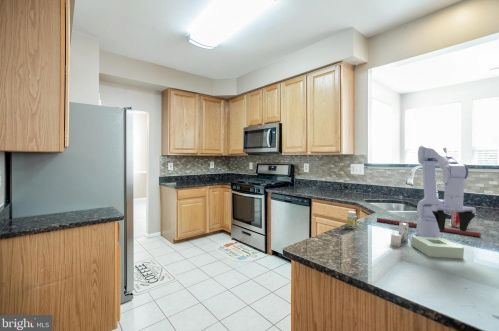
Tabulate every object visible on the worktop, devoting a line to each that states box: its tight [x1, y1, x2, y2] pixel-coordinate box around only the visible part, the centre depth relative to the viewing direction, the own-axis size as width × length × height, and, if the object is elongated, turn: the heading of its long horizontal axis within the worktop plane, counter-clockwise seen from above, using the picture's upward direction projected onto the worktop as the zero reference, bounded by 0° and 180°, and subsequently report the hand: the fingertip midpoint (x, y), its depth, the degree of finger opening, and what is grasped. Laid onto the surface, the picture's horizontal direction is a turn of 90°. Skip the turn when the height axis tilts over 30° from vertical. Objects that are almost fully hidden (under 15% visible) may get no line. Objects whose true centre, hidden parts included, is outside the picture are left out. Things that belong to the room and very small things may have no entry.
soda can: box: [450, 205, 468, 229], centre depth 134 cm, size 7×7×12 cm
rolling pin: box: [376, 217, 482, 238], centre depth 131 cm, size 45×3×3 cm, turn 54°
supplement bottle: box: [346, 210, 358, 229], centre depth 130 cm, size 5×5×8 cm
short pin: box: [390, 233, 402, 248], centre depth 104 cm, size 4×4×4 cm
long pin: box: [398, 223, 410, 244], centre depth 109 cm, size 4×4×8 cm
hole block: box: [411, 235, 465, 260], centre depth 97 cm, size 12×12×4 cm
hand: (451, 230), depth 93 cm, fingers open, 7 cm apart
